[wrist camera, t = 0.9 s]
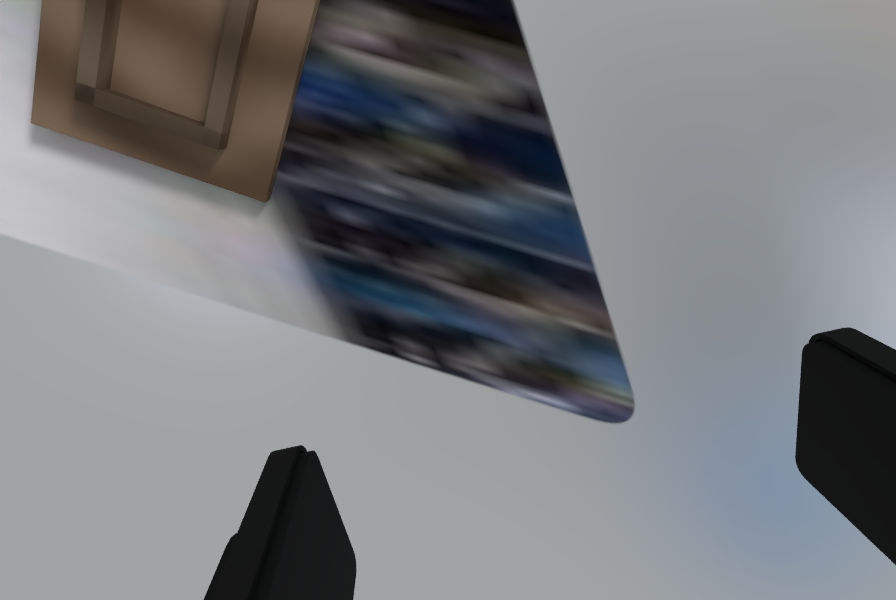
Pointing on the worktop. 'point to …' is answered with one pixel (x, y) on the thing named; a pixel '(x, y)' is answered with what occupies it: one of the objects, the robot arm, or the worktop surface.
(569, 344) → the worktop surface
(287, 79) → the holder
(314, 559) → the robot arm
